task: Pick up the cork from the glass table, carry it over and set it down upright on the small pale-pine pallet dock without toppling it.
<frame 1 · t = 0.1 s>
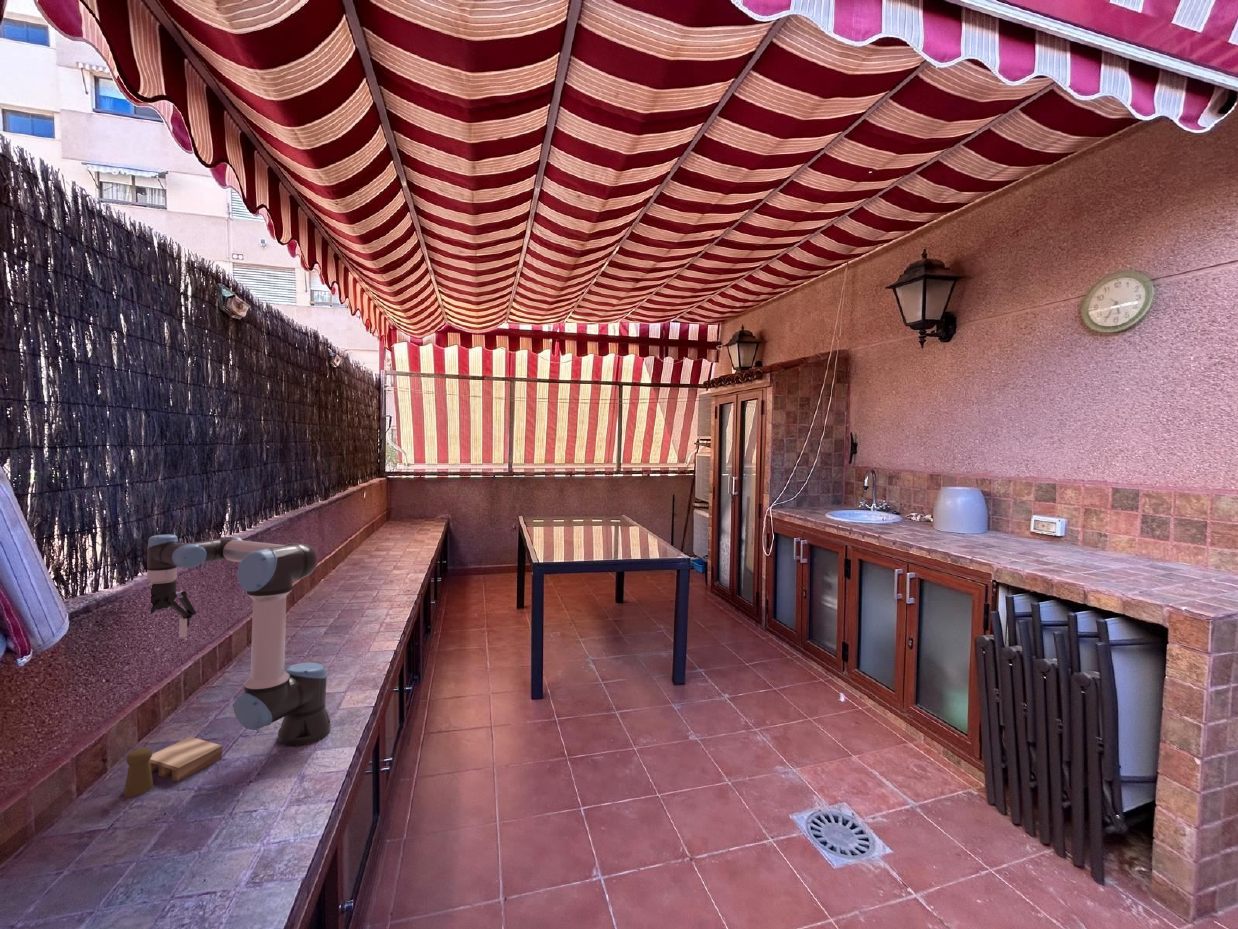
hand: (160, 643, 173), 28 cm above the countertop, fingers open, 13 cm apart
cork: (138, 790, 141), on the countertop
pallet dock: (184, 764, 153), on the countertop
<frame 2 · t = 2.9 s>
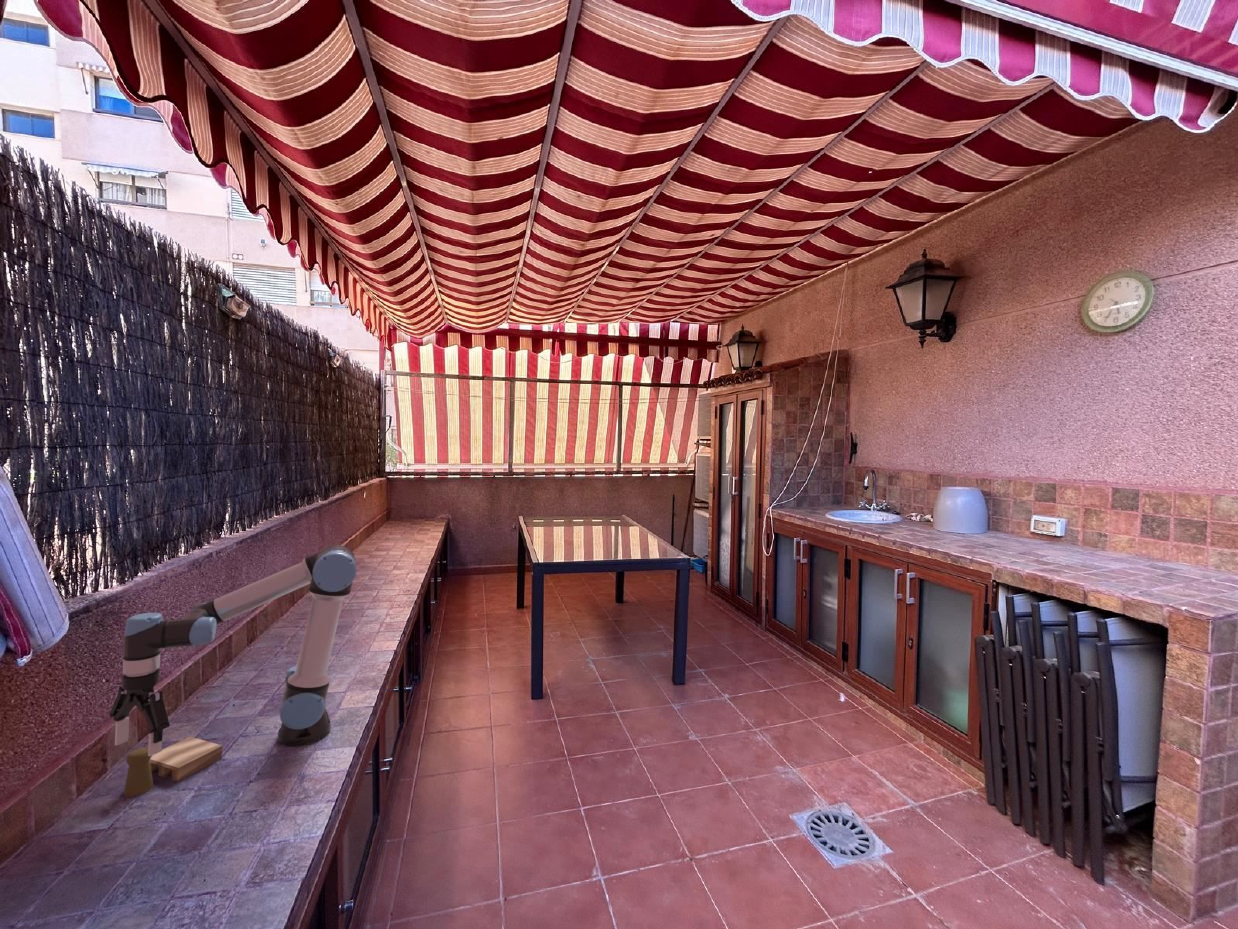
hand: (137, 748, 141), 12 cm above the countertop, fingers open, 13 cm apart
nothing on the countertop moved.
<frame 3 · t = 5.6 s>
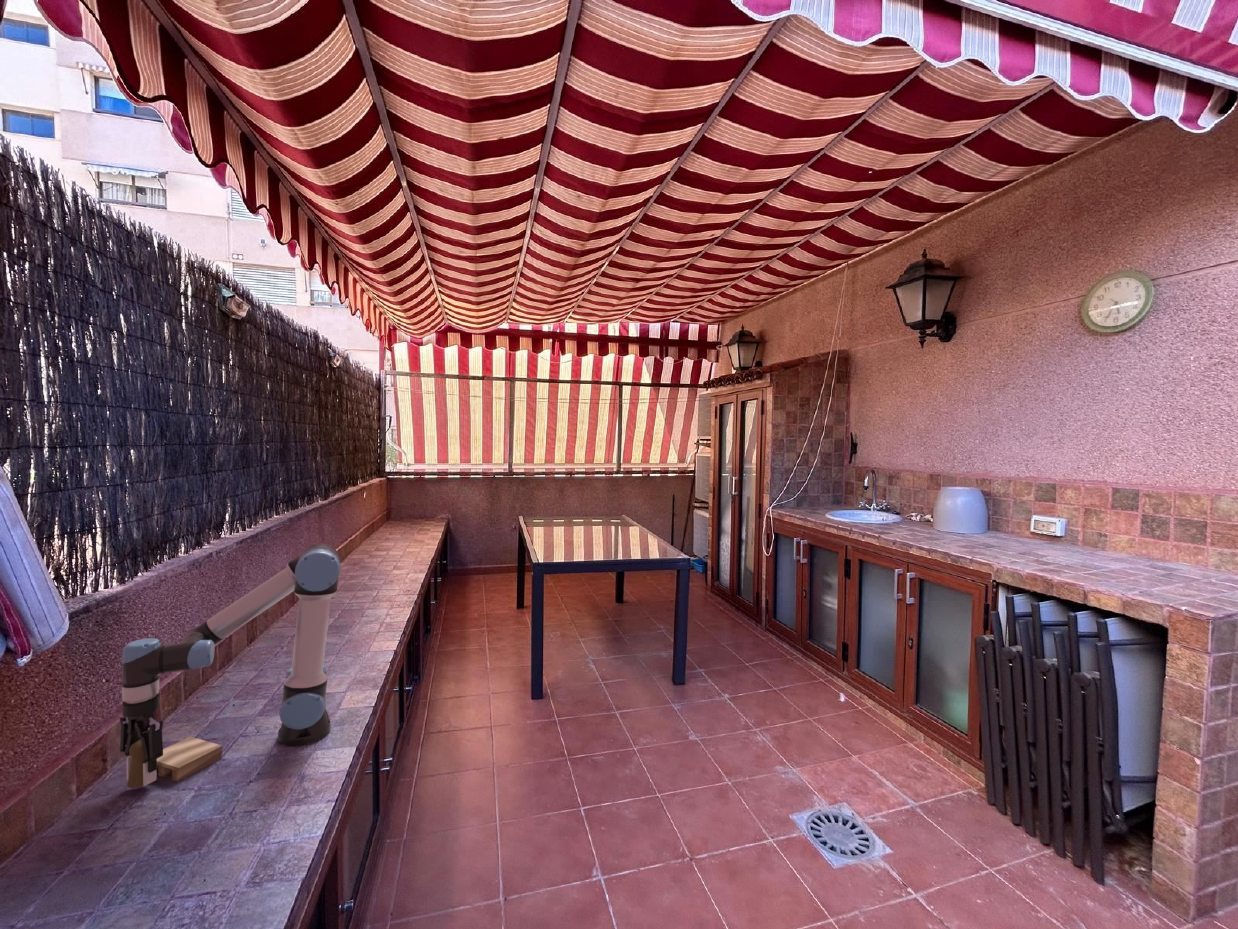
hand: (141, 779, 142), 3 cm above the countertop, fingers closed on cork, 6 cm apart
cork: (142, 781, 142), point 2 cm above the countertop, touching gripper
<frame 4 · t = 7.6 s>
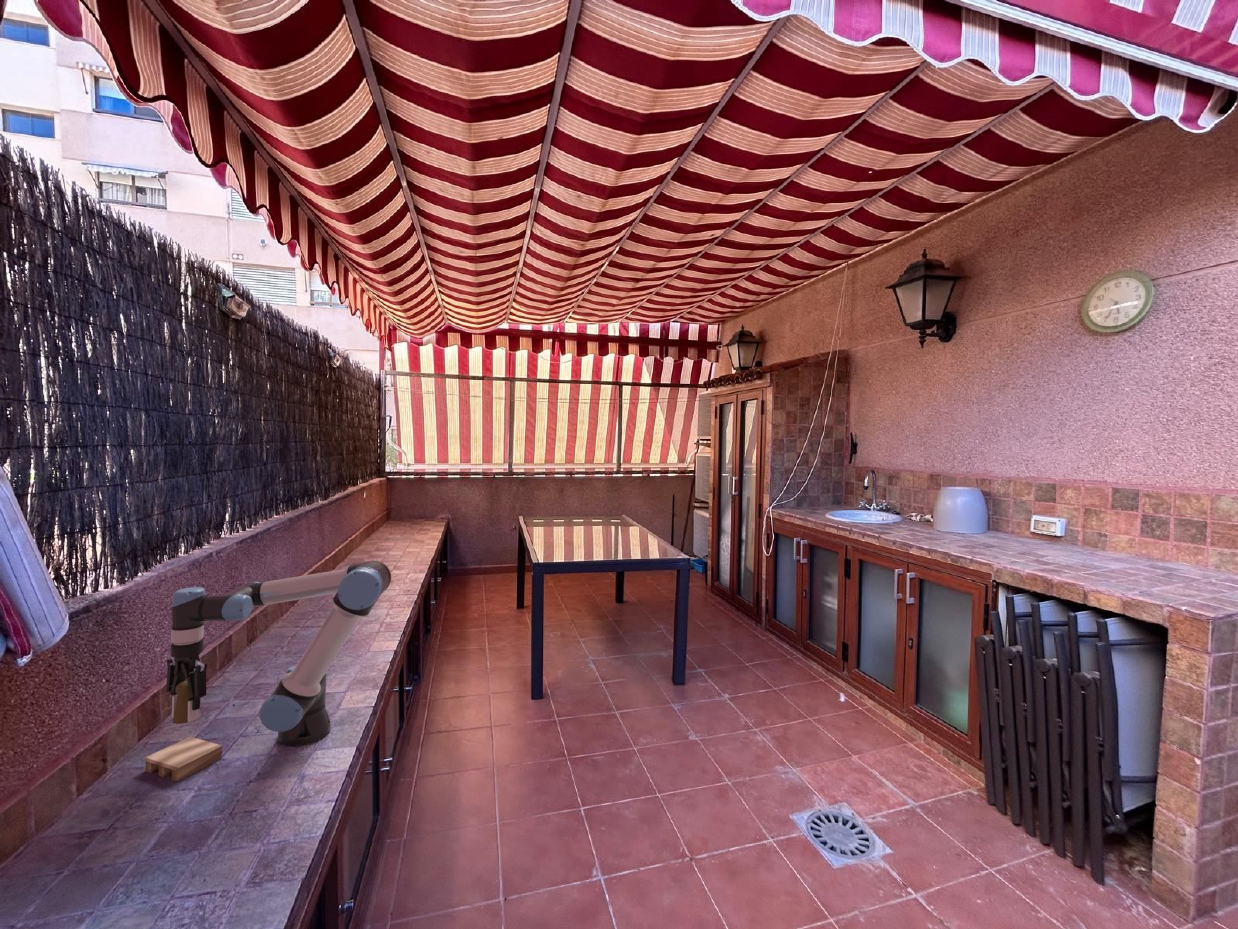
hand: (185, 717, 153), 14 cm above the countertop, fingers closed on cork, 6 cm apart
cork: (186, 719, 153), point 14 cm above the countertop, touching gripper
when the fingers open (5 cm above the countertop, at t = 9.8 s): cork stays where it is, resting on pallet dock.
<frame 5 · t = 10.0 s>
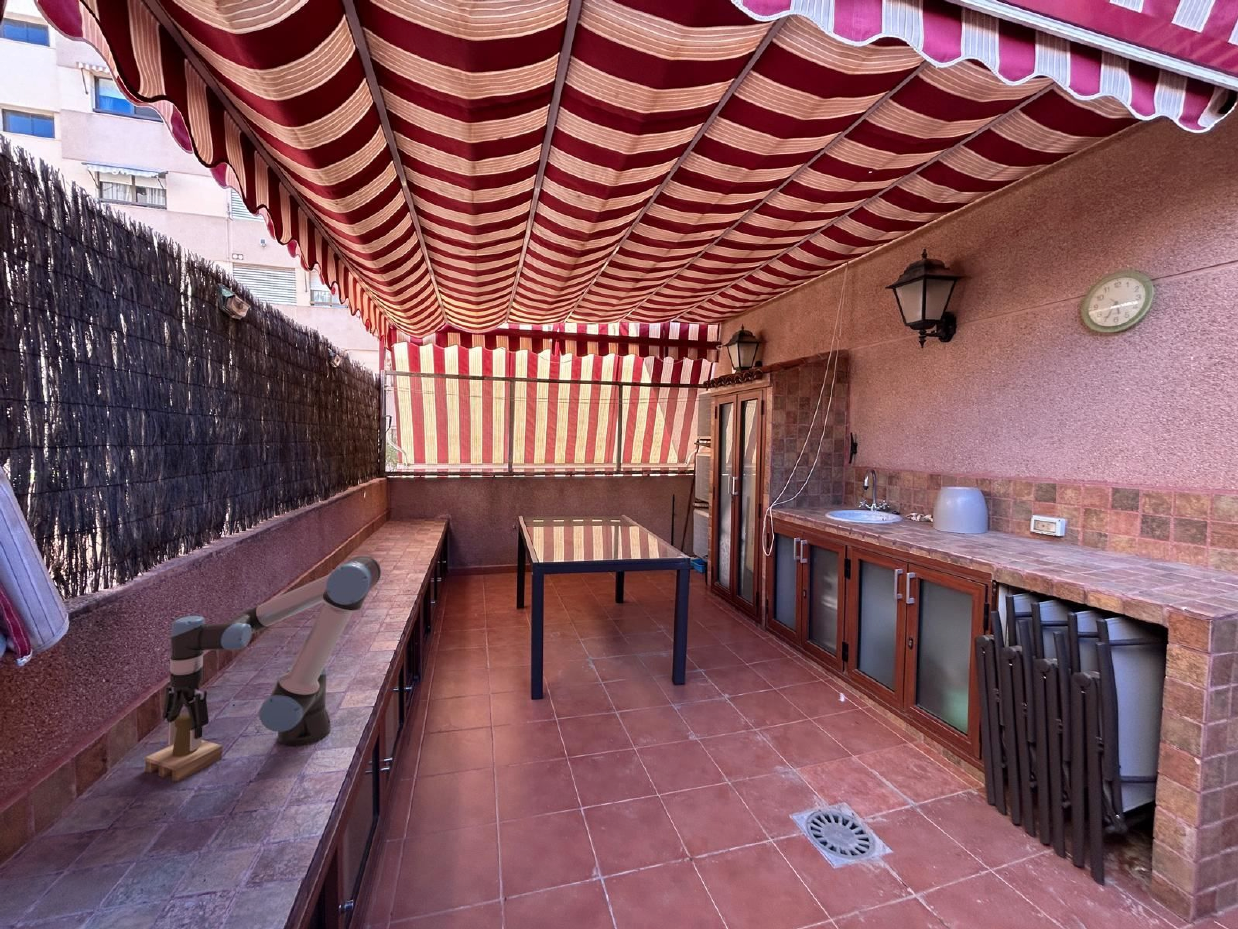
hand: (184, 745, 153), 6 cm above the countertop, fingers open, 8 cm apart
cork: (185, 751, 153), point 4 cm above the countertop, touching pallet dock
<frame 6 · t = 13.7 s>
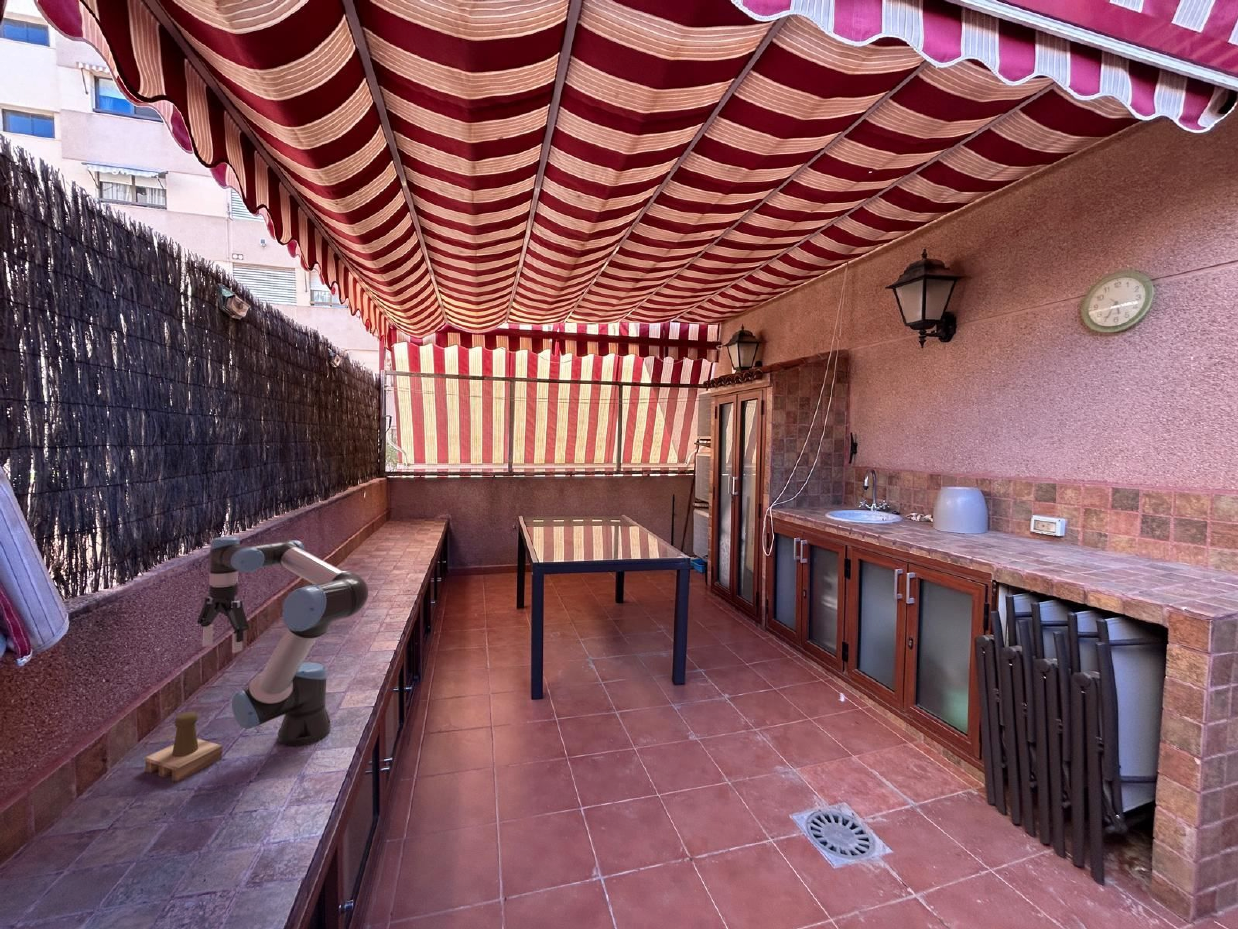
hand: (222, 648, 169), 29 cm above the countertop, fingers open, 13 cm apart
nothing on the countertop moved.
at the end: cork inside the target area on the pallet dock (0.2 cm from its centre), point 3.8 cm above the pallet dock's base; cork tilted 0°; the gripper is holding nothing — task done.
